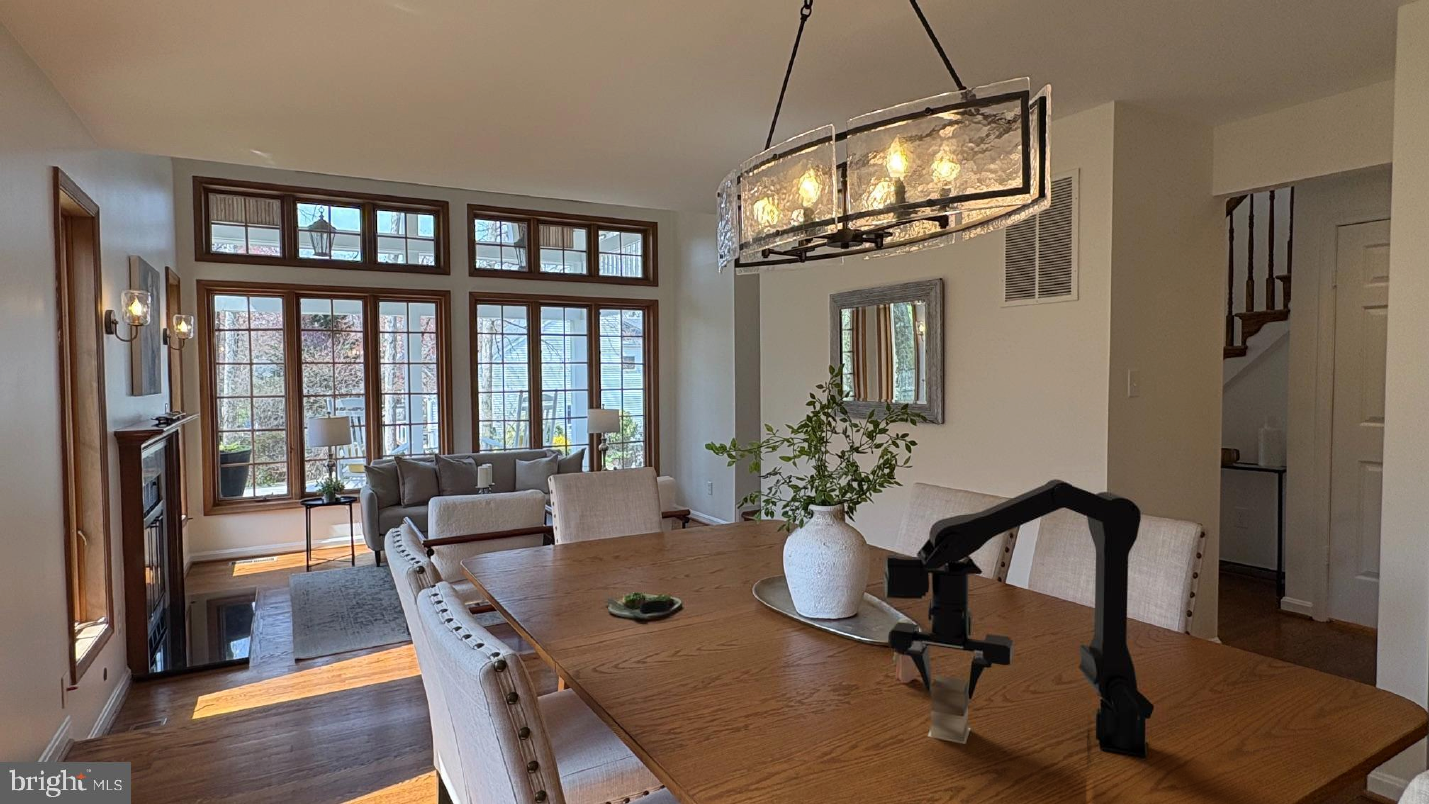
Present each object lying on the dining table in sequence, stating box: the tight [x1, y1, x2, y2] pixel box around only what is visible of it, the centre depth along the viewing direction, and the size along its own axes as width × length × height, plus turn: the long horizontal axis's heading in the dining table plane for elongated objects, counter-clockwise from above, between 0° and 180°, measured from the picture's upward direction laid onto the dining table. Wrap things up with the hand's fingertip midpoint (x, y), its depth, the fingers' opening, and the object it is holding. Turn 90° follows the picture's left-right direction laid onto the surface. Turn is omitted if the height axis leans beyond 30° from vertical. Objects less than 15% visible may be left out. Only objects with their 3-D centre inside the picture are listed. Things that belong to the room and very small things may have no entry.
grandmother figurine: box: [892, 617, 917, 684], centre depth 145 cm, size 8×4×13 cm, turn 141°
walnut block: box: [930, 674, 969, 717], centre depth 124 cm, size 5×5×4 cm
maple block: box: [930, 705, 969, 742], centre depth 124 cm, size 5×5×4 cm
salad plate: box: [604, 591, 683, 621], centre depth 193 cm, size 19×18×5 cm
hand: (949, 694), depth 124 cm, fingers open, 6 cm apart
